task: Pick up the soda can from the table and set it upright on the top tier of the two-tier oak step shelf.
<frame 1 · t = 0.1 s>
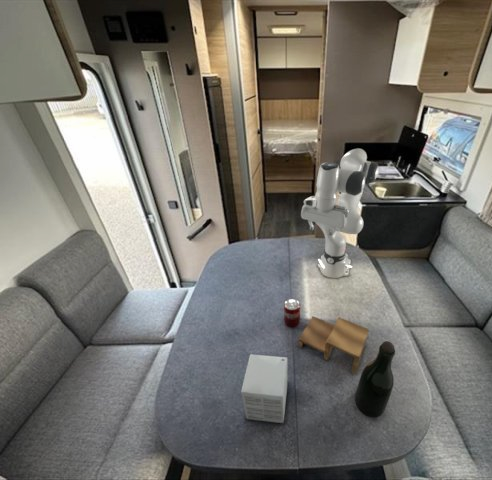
hand: (321, 232, 116), 39 cm above the table, tool pointing down, fingers open, 8 cm apart
supplement box: (267, 401, 94), on the table
soda can: (292, 322, 123), on the table
step shelf: (331, 346, 112), on the table
dark green wine bottle: (369, 403, 93), on the table
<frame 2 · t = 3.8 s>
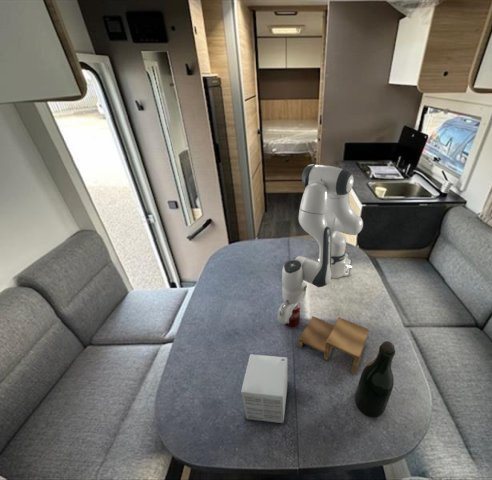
hand: (292, 315, 120), 5 cm above the table, tool pointing down, fingers closed on soda can, 7 cm apart
soda can: (291, 322, 123), on the table, touching gripper
everything else where it was.
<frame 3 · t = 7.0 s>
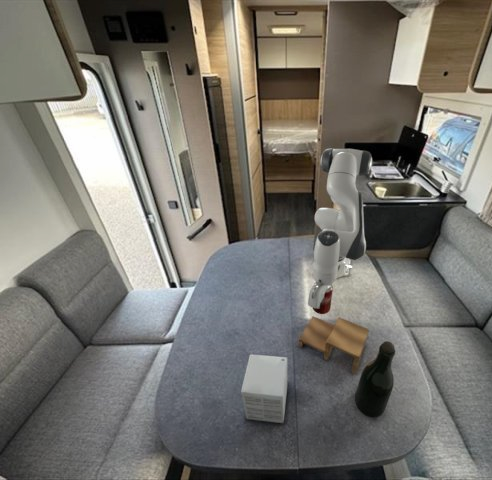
hand: (322, 299, 103), 23 cm above the table, tool pointing down, fingers closed on soda can, 7 cm apart
soda can: (321, 308, 106), point 19 cm above the table, touching gripper
everything else where it was.
when the fingers open (16 cm above the table, at t = 10.4 s): soda can stays where it is, resting on step shelf.
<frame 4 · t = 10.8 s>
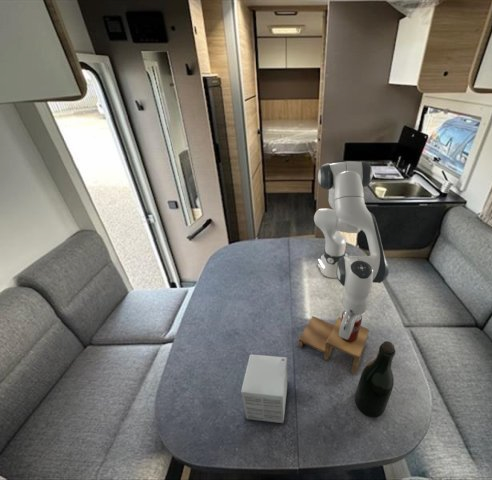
hand: (350, 327, 101), 16 cm above the table, tool pointing down, fingers open, 8 cm apart
soda can: (348, 335, 104), point 11 cm above the table, touching step shelf
everything else where it was.
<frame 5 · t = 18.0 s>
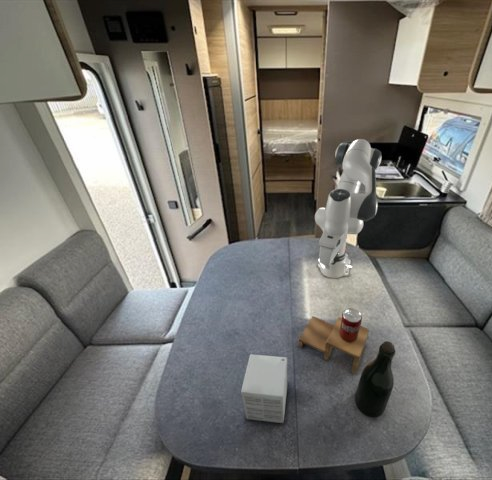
hand: (332, 261, 106), 34 cm above the table, tool pointing down, fingers open, 8 cm apart
nothing on the table moved.
at the end: soda can inside the target area on the step shelf (0.1 cm from its centre), point 10.8 cm above the step shelf's base; soda can tilted 0°; the gripper is holding nothing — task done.
